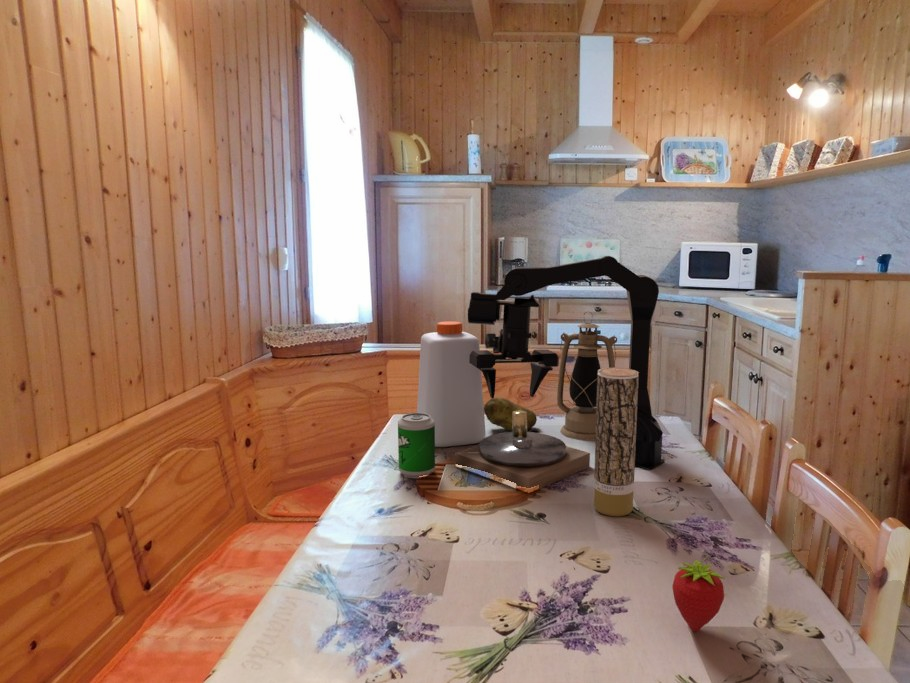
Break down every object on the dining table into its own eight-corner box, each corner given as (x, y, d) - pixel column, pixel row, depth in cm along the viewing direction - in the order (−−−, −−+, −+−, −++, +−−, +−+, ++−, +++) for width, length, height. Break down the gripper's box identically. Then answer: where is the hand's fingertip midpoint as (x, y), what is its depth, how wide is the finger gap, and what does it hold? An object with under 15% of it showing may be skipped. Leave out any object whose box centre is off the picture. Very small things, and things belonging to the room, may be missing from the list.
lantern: (619, 429, 158) (624, 310, 153) (610, 443, 148) (615, 316, 143) (562, 422, 164) (565, 307, 159) (550, 435, 154) (552, 313, 149)
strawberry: (721, 618, 80) (726, 544, 79) (721, 654, 73) (727, 574, 72) (672, 608, 82) (676, 536, 81) (668, 642, 76) (672, 564, 74)
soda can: (437, 467, 133) (436, 412, 131) (432, 480, 126) (432, 422, 124) (402, 466, 134) (401, 411, 132) (395, 479, 127) (394, 421, 125)
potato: (533, 436, 153) (533, 404, 152) (481, 432, 157) (481, 400, 156) (537, 426, 161) (538, 395, 160) (488, 422, 165) (488, 392, 163)
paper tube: (634, 519, 108) (640, 376, 104) (593, 516, 110) (597, 375, 105) (631, 503, 115) (637, 368, 111) (593, 500, 116) (597, 367, 112)
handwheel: (572, 467, 124) (573, 435, 123) (480, 467, 124) (480, 435, 123) (559, 438, 141) (559, 409, 140) (478, 438, 142) (478, 410, 141)
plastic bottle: (412, 431, 158) (410, 320, 153) (469, 425, 162) (469, 317, 158) (428, 450, 144) (426, 328, 139) (490, 443, 148) (491, 325, 143)
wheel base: (589, 466, 133) (589, 452, 133) (529, 493, 119) (529, 478, 119) (516, 444, 147) (516, 431, 147) (455, 466, 133) (455, 452, 133)
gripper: (540, 320, 145) (536, 387, 148) (463, 320, 140) (460, 389, 143) (562, 328, 135) (557, 399, 137) (479, 329, 129) (475, 402, 132)
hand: (511, 397), depth 138 cm, fingers open, 9 cm apart
